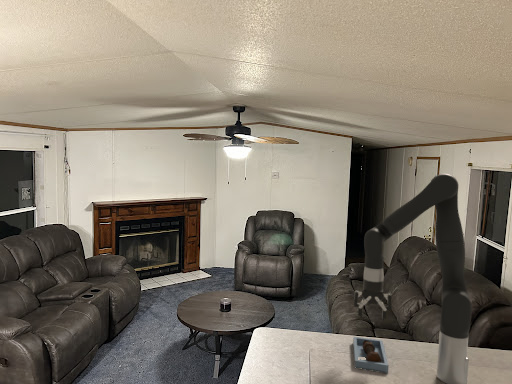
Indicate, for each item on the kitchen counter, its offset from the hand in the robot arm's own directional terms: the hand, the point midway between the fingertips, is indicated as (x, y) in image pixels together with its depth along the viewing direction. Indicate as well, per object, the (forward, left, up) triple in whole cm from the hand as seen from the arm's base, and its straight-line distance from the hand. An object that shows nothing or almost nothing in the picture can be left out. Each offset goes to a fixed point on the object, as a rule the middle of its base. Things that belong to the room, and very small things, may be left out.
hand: (371, 318), depth 149 cm
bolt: (0, +1, -16) cm, 16 cm away
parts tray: (0, 0, -16) cm, 16 cm away
